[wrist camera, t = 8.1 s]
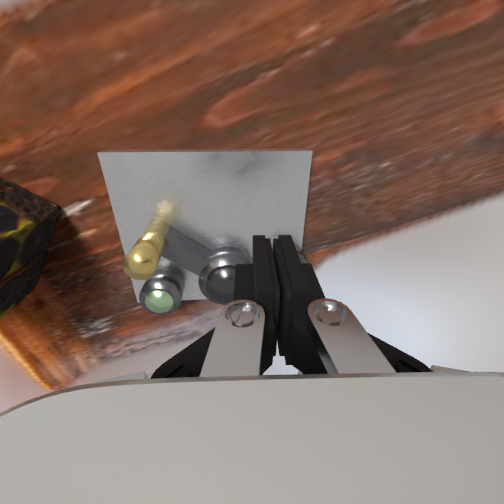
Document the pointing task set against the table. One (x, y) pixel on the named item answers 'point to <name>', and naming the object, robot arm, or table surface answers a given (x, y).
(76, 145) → the table surface
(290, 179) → the plate
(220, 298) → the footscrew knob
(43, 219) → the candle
